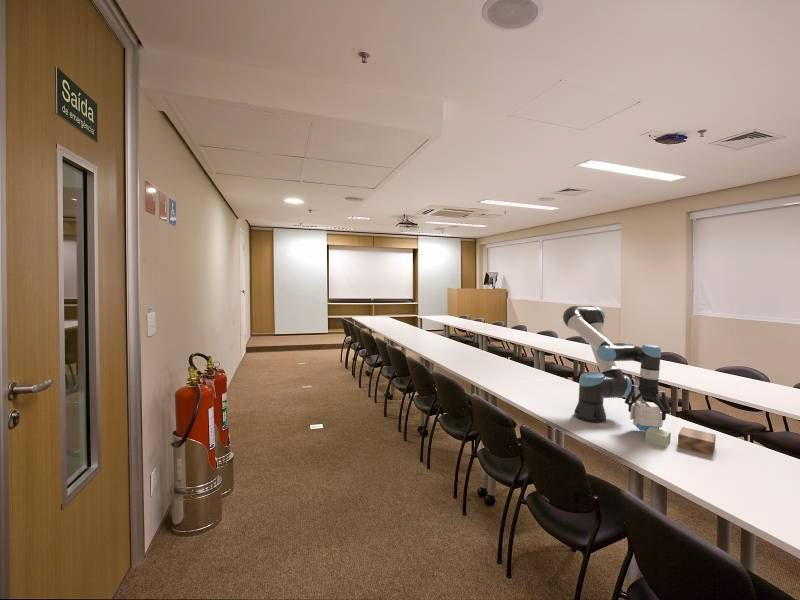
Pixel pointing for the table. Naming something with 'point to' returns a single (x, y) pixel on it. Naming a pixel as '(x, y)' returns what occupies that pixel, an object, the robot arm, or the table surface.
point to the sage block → (657, 436)
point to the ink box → (646, 415)
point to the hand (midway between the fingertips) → (645, 422)
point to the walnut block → (696, 441)
